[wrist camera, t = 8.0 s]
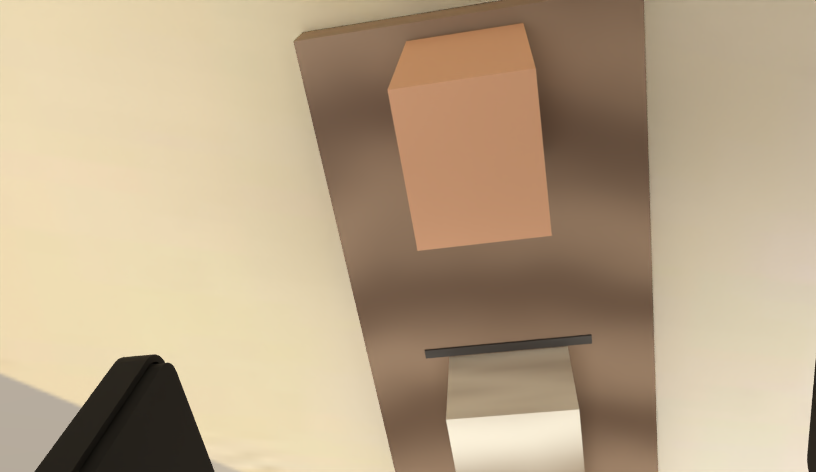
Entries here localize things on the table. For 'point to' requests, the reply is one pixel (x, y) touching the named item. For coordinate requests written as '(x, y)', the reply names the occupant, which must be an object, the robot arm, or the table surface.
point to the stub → (471, 138)
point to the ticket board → (503, 253)
